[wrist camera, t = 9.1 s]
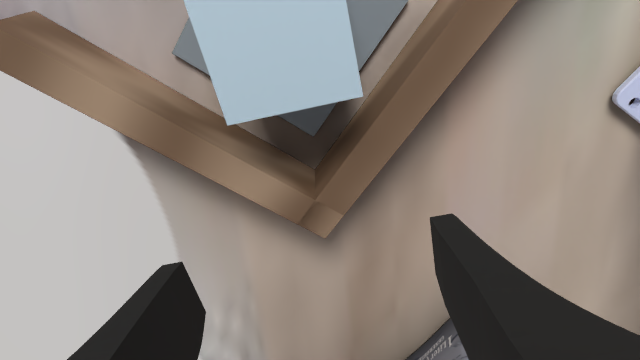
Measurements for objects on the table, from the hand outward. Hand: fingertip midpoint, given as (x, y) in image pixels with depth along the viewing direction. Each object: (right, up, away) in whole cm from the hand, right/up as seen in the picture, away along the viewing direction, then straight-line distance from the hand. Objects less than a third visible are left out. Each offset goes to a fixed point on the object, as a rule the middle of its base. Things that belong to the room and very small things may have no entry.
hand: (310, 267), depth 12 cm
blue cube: (-1, +10, +6) cm, 11 cm away
